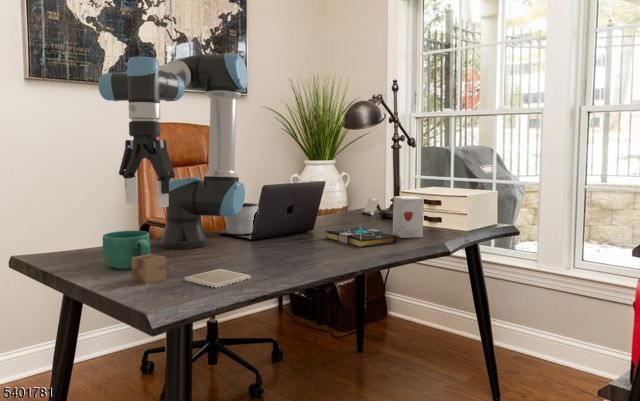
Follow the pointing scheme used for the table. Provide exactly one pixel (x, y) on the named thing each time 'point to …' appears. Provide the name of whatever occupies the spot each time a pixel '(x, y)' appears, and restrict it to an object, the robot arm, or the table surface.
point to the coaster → (217, 278)
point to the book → (362, 237)
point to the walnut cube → (149, 268)
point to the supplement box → (408, 216)
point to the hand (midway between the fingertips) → (146, 205)
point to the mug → (125, 247)
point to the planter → (242, 220)
